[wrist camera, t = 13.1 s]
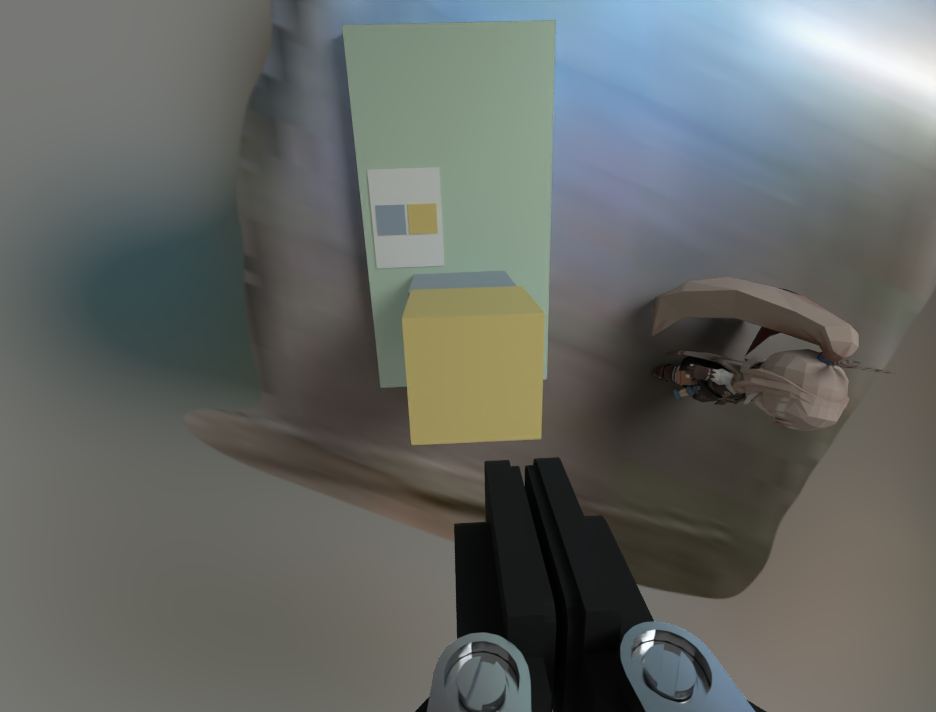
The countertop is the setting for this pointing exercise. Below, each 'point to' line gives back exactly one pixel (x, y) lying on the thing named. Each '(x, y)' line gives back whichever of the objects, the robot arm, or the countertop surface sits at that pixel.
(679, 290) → the toy
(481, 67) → the board
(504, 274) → the base brick
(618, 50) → the countertop surface
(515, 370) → the brick
